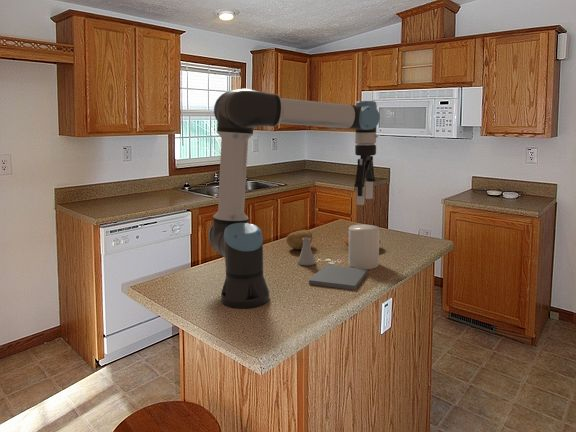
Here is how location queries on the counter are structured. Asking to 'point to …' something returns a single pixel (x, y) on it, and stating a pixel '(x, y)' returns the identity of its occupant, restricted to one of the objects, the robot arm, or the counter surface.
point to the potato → (298, 238)
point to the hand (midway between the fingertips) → (364, 201)
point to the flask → (306, 254)
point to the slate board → (339, 277)
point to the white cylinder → (363, 246)
